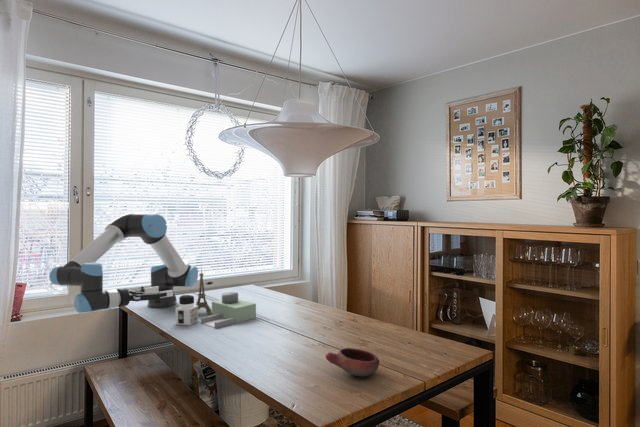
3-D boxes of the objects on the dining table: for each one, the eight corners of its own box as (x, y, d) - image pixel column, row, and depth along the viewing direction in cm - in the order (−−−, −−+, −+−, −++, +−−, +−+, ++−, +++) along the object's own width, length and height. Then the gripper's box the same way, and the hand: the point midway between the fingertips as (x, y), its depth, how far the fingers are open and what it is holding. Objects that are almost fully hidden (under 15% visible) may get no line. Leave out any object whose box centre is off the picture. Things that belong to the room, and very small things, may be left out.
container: (190, 325, 191) (189, 297, 191) (175, 324, 192) (174, 296, 192) (198, 320, 198) (198, 294, 198) (183, 320, 200) (183, 293, 200)
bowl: (357, 363, 143) (357, 341, 143) (386, 375, 134) (386, 350, 133) (323, 377, 132) (323, 352, 132) (352, 390, 123) (352, 363, 123)
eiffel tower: (213, 315, 209) (212, 266, 208) (191, 317, 205) (191, 267, 205) (211, 310, 219) (210, 263, 218) (190, 312, 215) (190, 264, 215)
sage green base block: (192, 320, 200) (192, 297, 199) (231, 311, 217) (231, 290, 216) (216, 328, 186) (215, 304, 186) (256, 317, 203) (256, 295, 203)
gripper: (105, 302, 182) (152, 295, 198) (129, 311, 165) (179, 303, 181) (105, 285, 182) (152, 279, 198) (129, 293, 165) (178, 286, 181)
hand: (165, 291), depth 189 cm, fingers open, 13 cm apart
